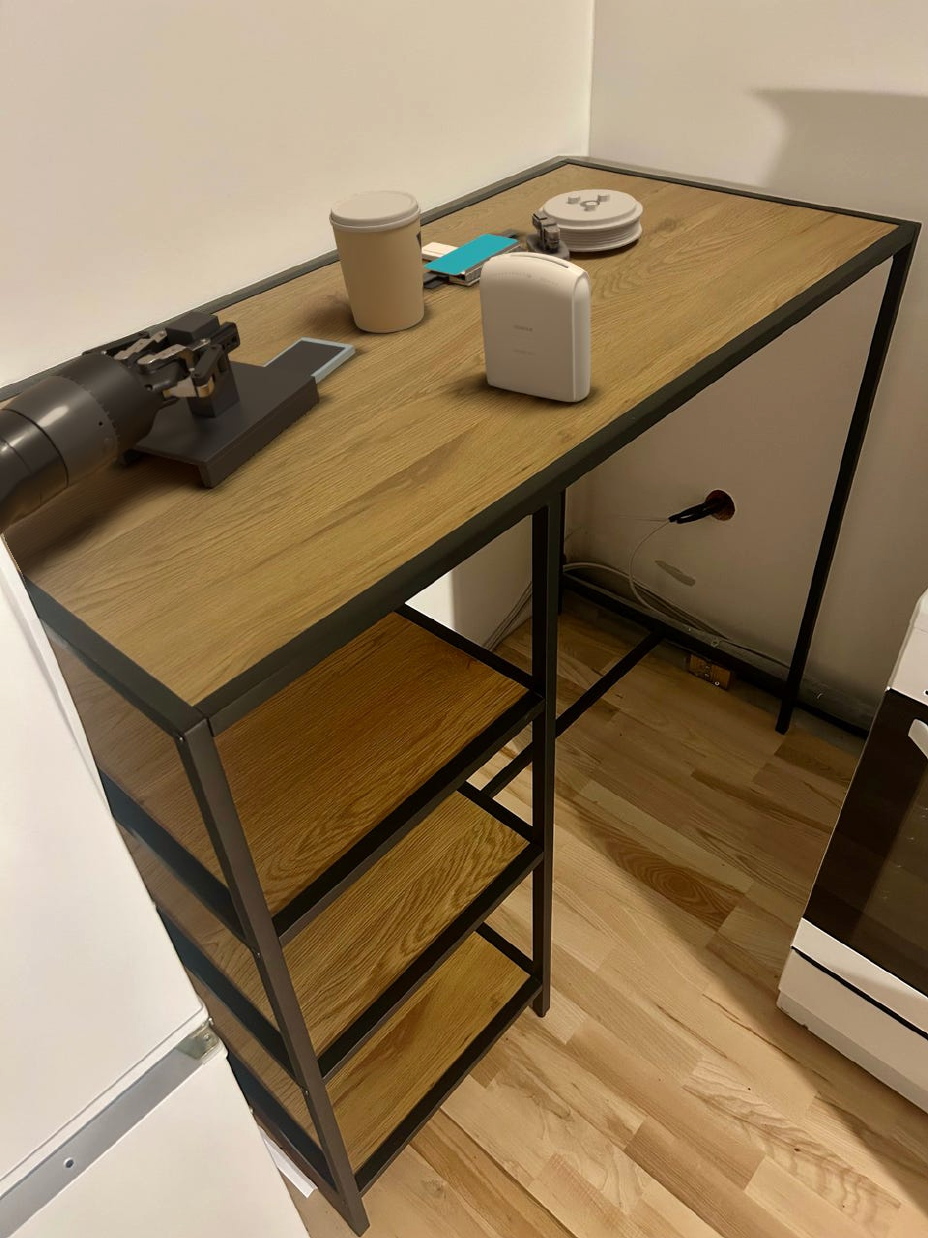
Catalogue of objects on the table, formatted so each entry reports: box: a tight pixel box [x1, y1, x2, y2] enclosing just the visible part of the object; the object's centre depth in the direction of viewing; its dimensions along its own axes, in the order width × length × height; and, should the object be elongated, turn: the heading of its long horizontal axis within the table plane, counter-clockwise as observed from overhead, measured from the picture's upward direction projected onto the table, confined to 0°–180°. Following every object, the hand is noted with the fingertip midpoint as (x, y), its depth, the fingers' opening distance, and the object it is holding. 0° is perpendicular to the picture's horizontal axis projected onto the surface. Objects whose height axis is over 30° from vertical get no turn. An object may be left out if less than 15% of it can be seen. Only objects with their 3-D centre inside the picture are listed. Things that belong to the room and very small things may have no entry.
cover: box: [116, 311, 321, 489], centre depth 82 cm, size 16×11×11 cm
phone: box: [262, 336, 356, 385], centre depth 92 cm, size 13×6×1 cm, turn 152°
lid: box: [537, 188, 644, 253], centre depth 112 cm, size 13×13×5 cm
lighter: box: [525, 210, 570, 262], centre depth 95 cm, size 8×3×10 cm, turn 14°
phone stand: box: [421, 228, 528, 290], centre depth 112 cm, size 20×12×2 cm, turn 141°
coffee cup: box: [328, 189, 425, 334], centre depth 97 cm, size 9×9×12 cm
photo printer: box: [478, 252, 592, 403], centre depth 82 cm, size 10×4×12 cm, turn 57°
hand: (218, 329), depth 81 cm, fingers closed on cover, 3 cm apart
